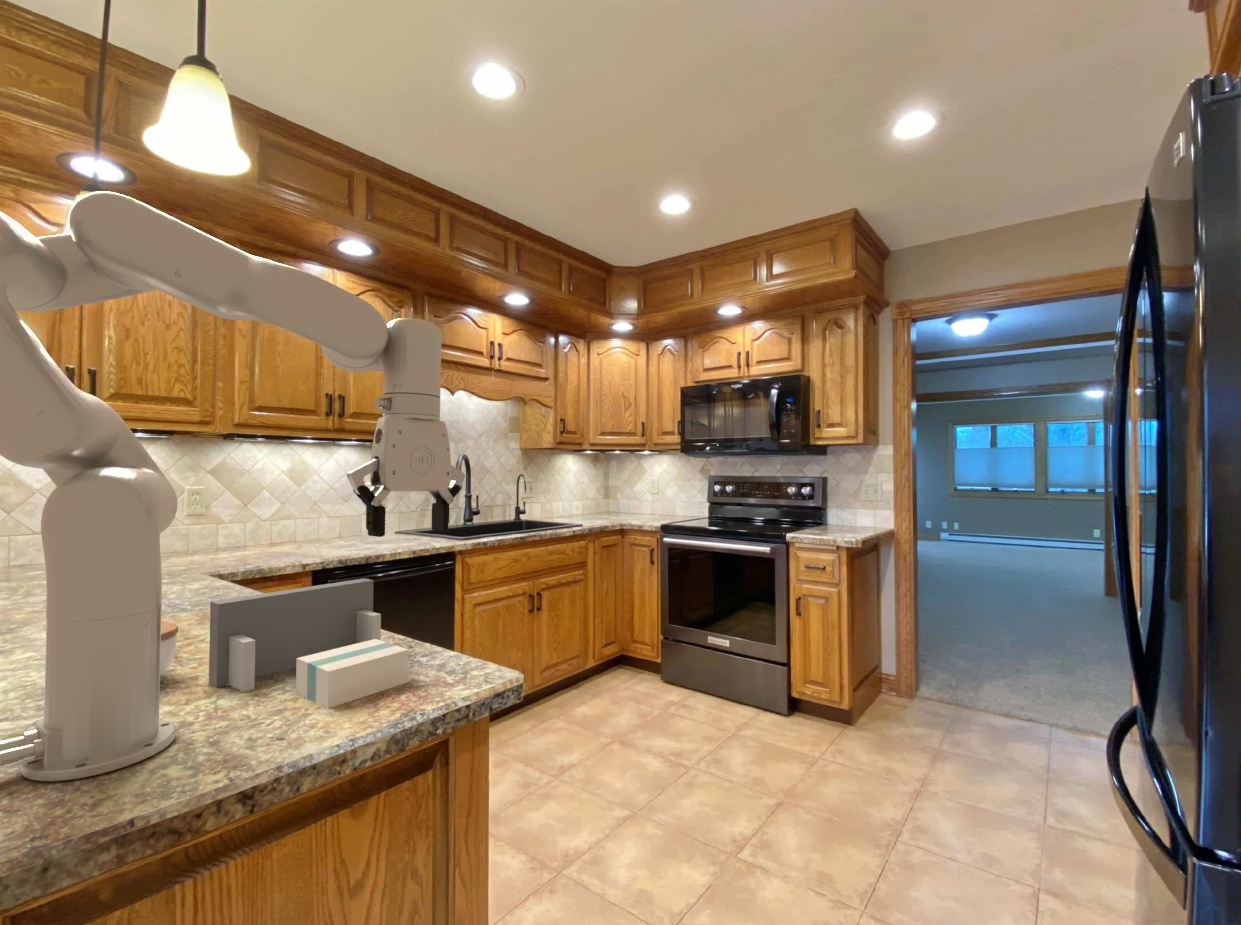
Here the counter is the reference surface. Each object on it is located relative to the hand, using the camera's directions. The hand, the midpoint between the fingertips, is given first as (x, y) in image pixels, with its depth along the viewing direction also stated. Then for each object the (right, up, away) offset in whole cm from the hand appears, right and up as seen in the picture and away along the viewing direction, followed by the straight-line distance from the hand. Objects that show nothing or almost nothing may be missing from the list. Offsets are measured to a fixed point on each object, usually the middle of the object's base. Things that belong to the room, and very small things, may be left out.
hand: (409, 533), depth 79 cm
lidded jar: (-43, -23, +5) cm, 49 cm away
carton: (-10, -23, +4) cm, 25 cm away
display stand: (-21, -23, +13) cm, 34 cm away
